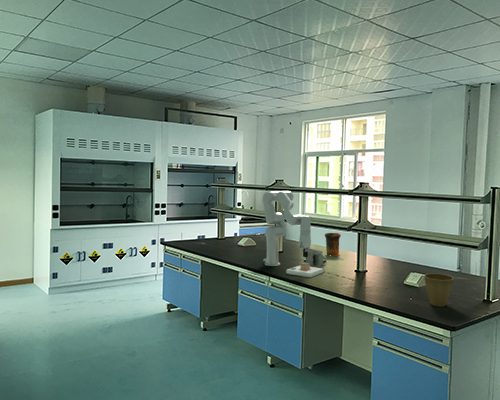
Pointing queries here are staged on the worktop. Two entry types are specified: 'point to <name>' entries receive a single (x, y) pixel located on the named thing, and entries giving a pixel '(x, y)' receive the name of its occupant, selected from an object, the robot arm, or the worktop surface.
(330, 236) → the vessel
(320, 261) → the geiger counter
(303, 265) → the plug
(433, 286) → the plant pot
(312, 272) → the socket plate
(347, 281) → the worktop surface
